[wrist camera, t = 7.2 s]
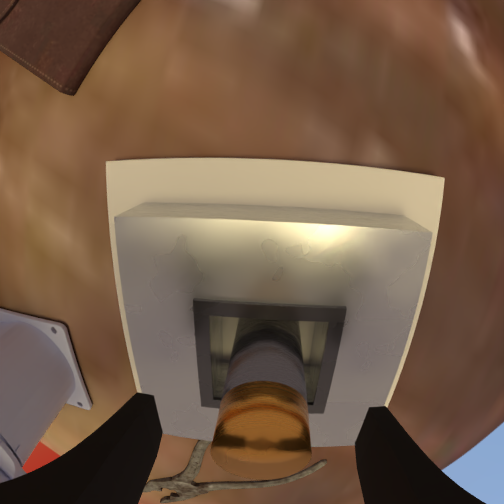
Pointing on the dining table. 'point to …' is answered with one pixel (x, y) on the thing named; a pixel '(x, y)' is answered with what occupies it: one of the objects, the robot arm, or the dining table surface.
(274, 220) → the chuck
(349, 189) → the stand base
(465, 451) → the dining table surface
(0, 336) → the robot arm
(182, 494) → the pliers
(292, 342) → the orange topped can
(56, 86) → the notebook
